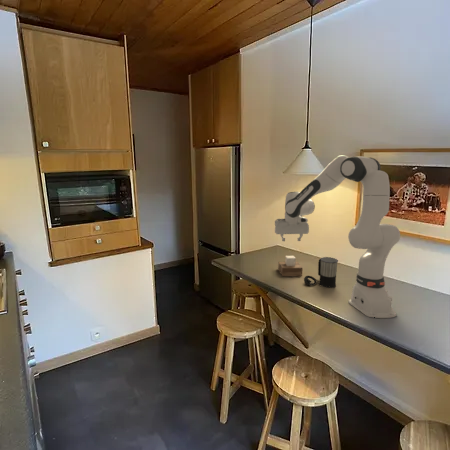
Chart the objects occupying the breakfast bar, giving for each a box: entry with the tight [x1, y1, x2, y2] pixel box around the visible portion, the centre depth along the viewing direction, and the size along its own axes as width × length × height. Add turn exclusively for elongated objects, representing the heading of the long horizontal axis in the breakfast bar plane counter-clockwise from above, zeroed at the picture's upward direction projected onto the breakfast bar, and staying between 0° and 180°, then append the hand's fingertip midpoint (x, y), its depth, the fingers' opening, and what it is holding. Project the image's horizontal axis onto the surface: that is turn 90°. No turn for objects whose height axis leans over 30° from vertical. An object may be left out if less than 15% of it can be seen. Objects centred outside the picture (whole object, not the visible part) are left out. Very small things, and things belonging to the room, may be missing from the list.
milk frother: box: [303, 256, 339, 289], centre depth 175 cm, size 14×16×15 cm
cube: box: [284, 255, 297, 266], centre depth 194 cm, size 5×5×5 cm
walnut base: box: [277, 261, 303, 277], centre depth 195 cm, size 12×12×5 cm
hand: (291, 241), depth 191 cm, fingers open, 8 cm apart
